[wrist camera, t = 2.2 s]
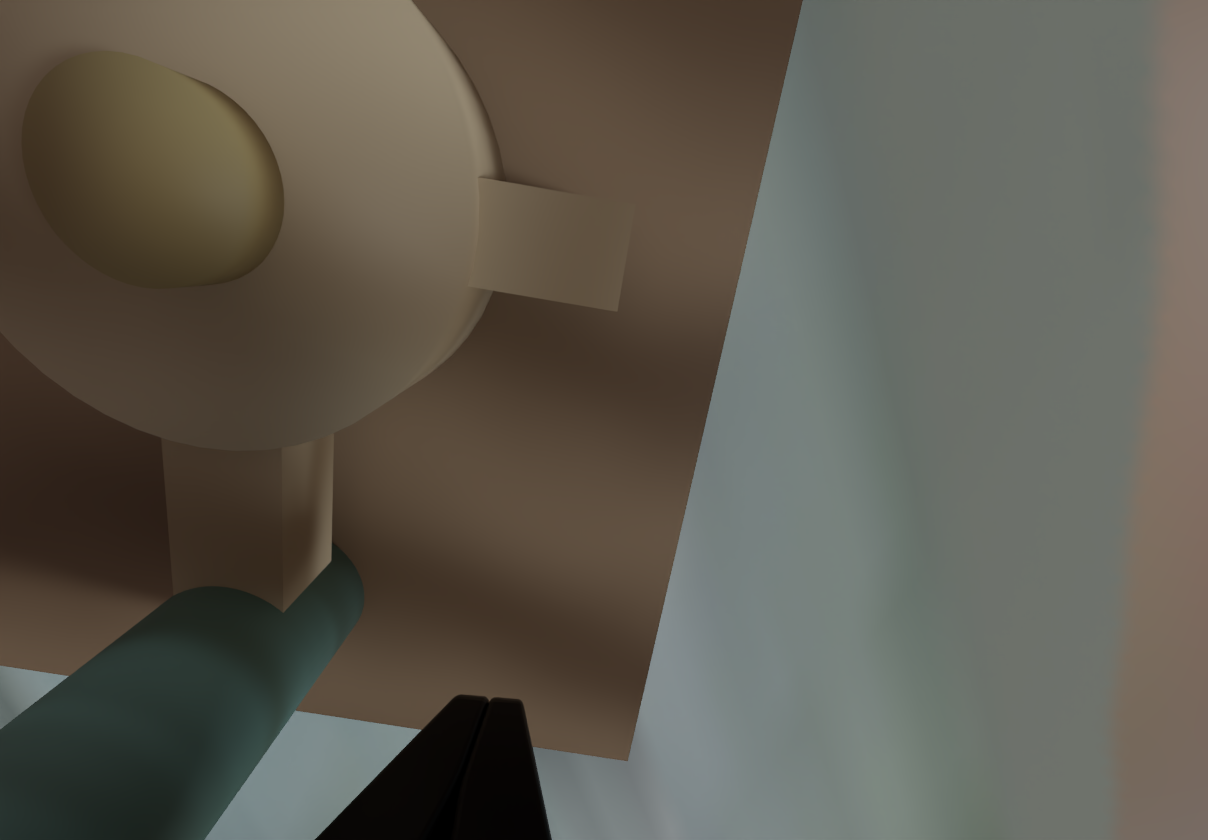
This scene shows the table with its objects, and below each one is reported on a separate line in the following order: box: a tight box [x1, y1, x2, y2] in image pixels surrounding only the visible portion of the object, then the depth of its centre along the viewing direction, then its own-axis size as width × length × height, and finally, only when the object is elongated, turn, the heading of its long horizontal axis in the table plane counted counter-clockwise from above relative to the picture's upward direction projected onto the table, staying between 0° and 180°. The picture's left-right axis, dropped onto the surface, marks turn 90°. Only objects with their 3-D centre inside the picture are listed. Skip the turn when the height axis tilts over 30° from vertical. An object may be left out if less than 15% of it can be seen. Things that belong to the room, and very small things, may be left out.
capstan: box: [0, 0, 635, 840], centre depth 7 cm, size 14×11×6 cm
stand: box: [0, 0, 803, 761], centre depth 8 cm, size 20×16×6 cm
